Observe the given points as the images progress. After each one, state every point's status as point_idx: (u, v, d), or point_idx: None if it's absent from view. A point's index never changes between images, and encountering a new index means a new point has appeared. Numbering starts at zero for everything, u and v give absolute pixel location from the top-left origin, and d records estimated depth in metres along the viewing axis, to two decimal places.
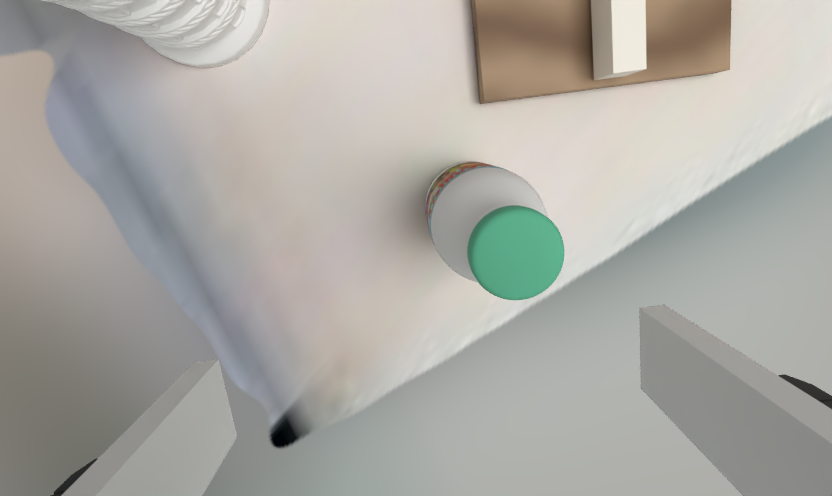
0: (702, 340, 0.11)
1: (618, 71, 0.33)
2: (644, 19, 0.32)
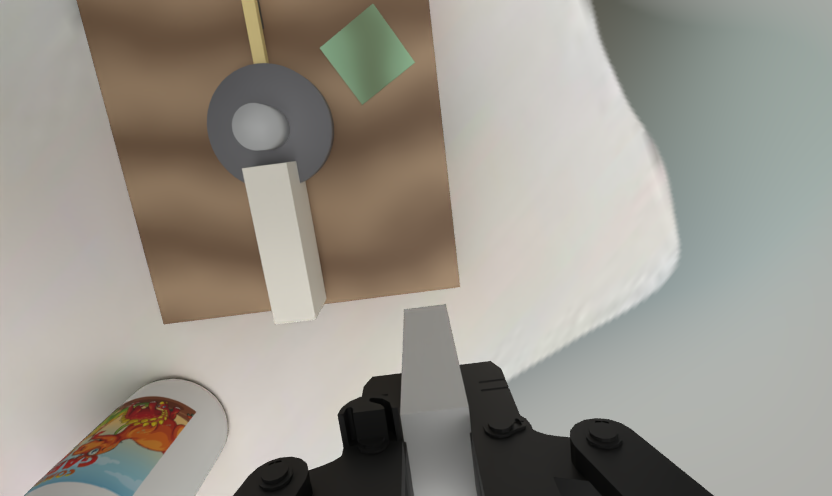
0: (438, 333, 0.14)
1: (281, 322, 0.26)
2: (303, 264, 0.26)
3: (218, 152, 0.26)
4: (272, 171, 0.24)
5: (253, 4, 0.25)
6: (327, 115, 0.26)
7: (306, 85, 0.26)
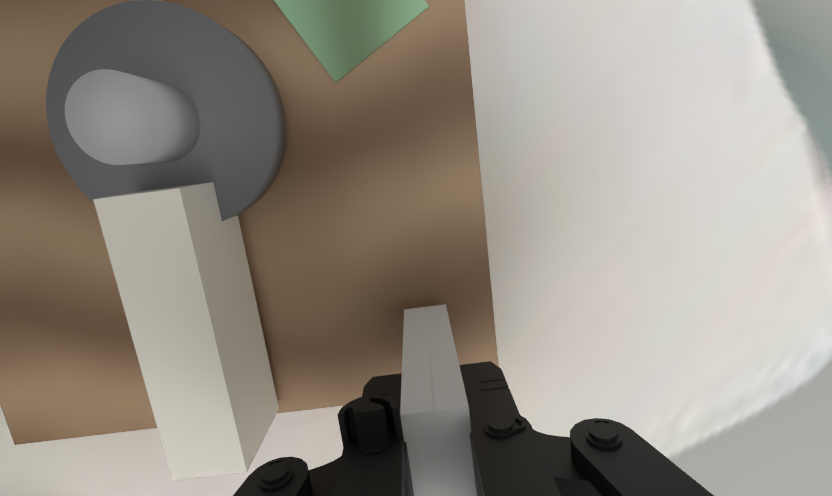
0: (438, 333, 0.14)
1: (183, 476, 0.14)
2: (220, 376, 0.14)
3: (71, 165, 0.14)
4: (153, 205, 0.13)
5: None
6: (268, 99, 0.14)
7: (227, 42, 0.14)
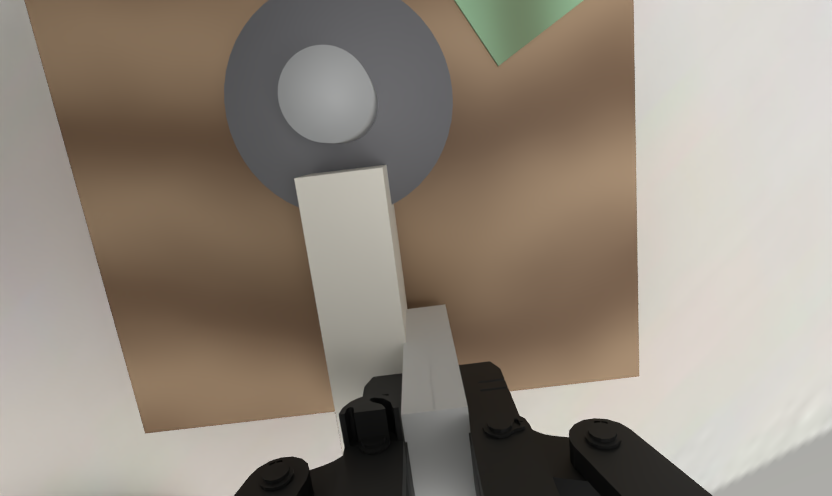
0: (437, 333, 0.14)
1: None
2: None
3: (244, 147, 0.14)
4: (354, 184, 0.12)
5: None
6: (448, 80, 0.14)
7: (413, 22, 0.14)
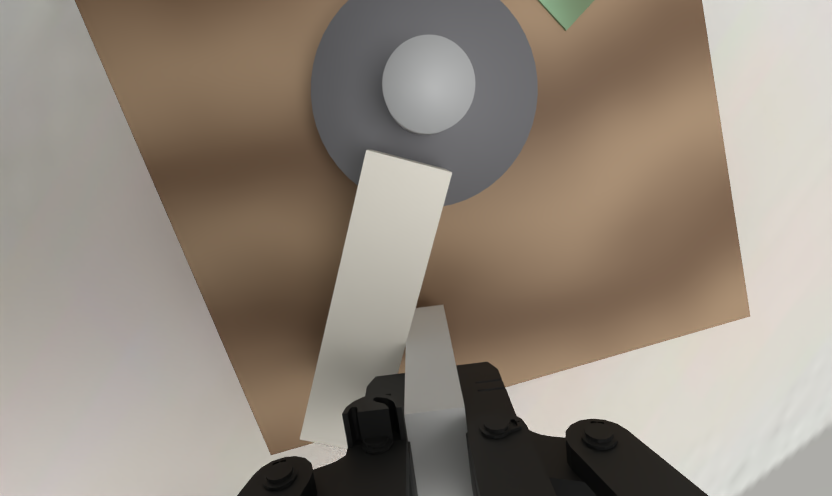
0: (435, 334, 0.14)
1: (312, 439, 0.14)
2: (398, 358, 0.14)
3: (318, 99, 0.14)
4: (420, 178, 0.12)
5: None
6: (532, 115, 0.14)
7: (522, 49, 0.14)
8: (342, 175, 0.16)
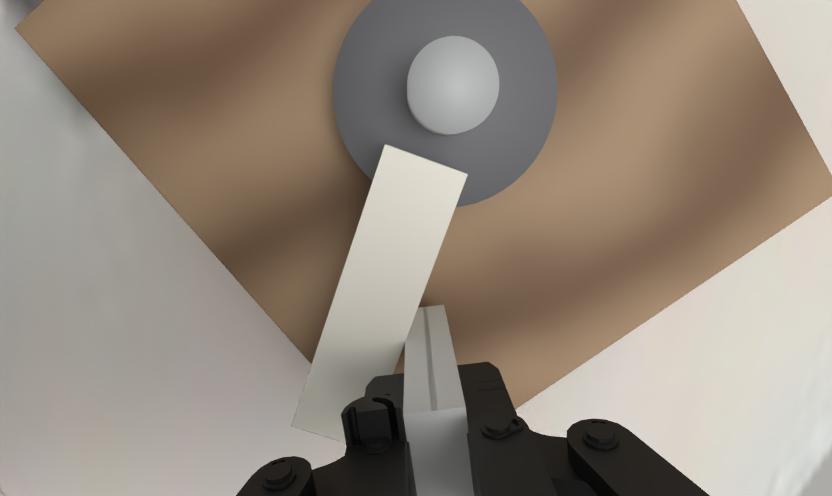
0: (436, 334, 0.14)
1: (303, 427, 0.14)
2: (396, 354, 0.14)
3: (340, 90, 0.14)
4: (435, 177, 0.13)
5: None
6: (549, 125, 0.14)
7: (545, 60, 0.14)
8: None
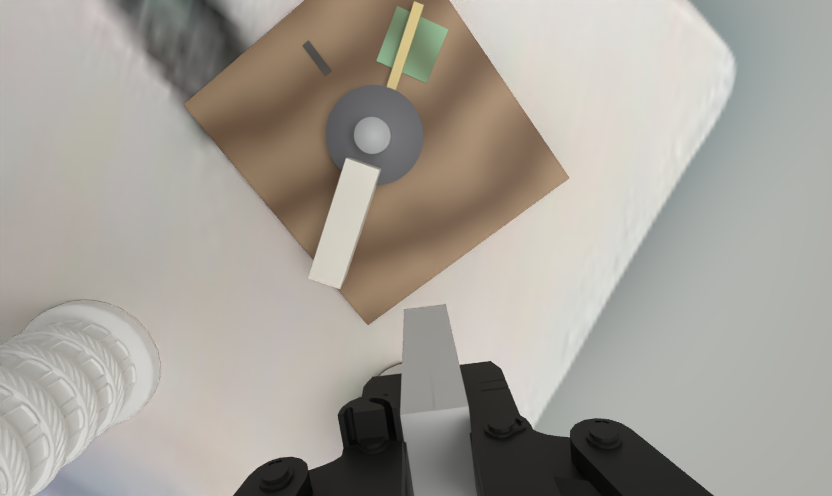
0: (438, 333, 0.14)
1: (313, 279, 0.33)
2: (352, 246, 0.32)
3: (329, 134, 0.33)
4: (366, 171, 0.31)
5: (408, 45, 0.32)
6: (420, 148, 0.33)
7: (417, 121, 0.33)
8: None
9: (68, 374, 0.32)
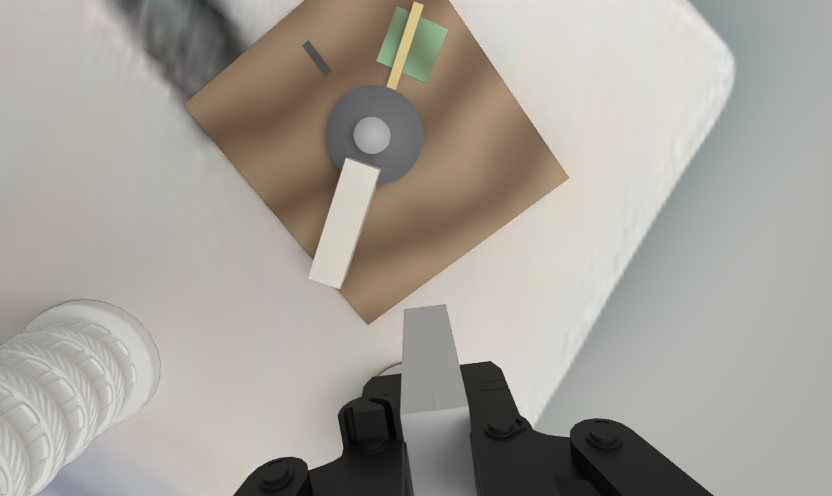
0: (438, 333, 0.14)
1: (313, 279, 0.33)
2: (352, 246, 0.32)
3: (329, 134, 0.33)
4: (366, 171, 0.31)
5: (408, 45, 0.32)
6: (420, 148, 0.33)
7: (417, 121, 0.33)
8: None
9: (68, 373, 0.32)
